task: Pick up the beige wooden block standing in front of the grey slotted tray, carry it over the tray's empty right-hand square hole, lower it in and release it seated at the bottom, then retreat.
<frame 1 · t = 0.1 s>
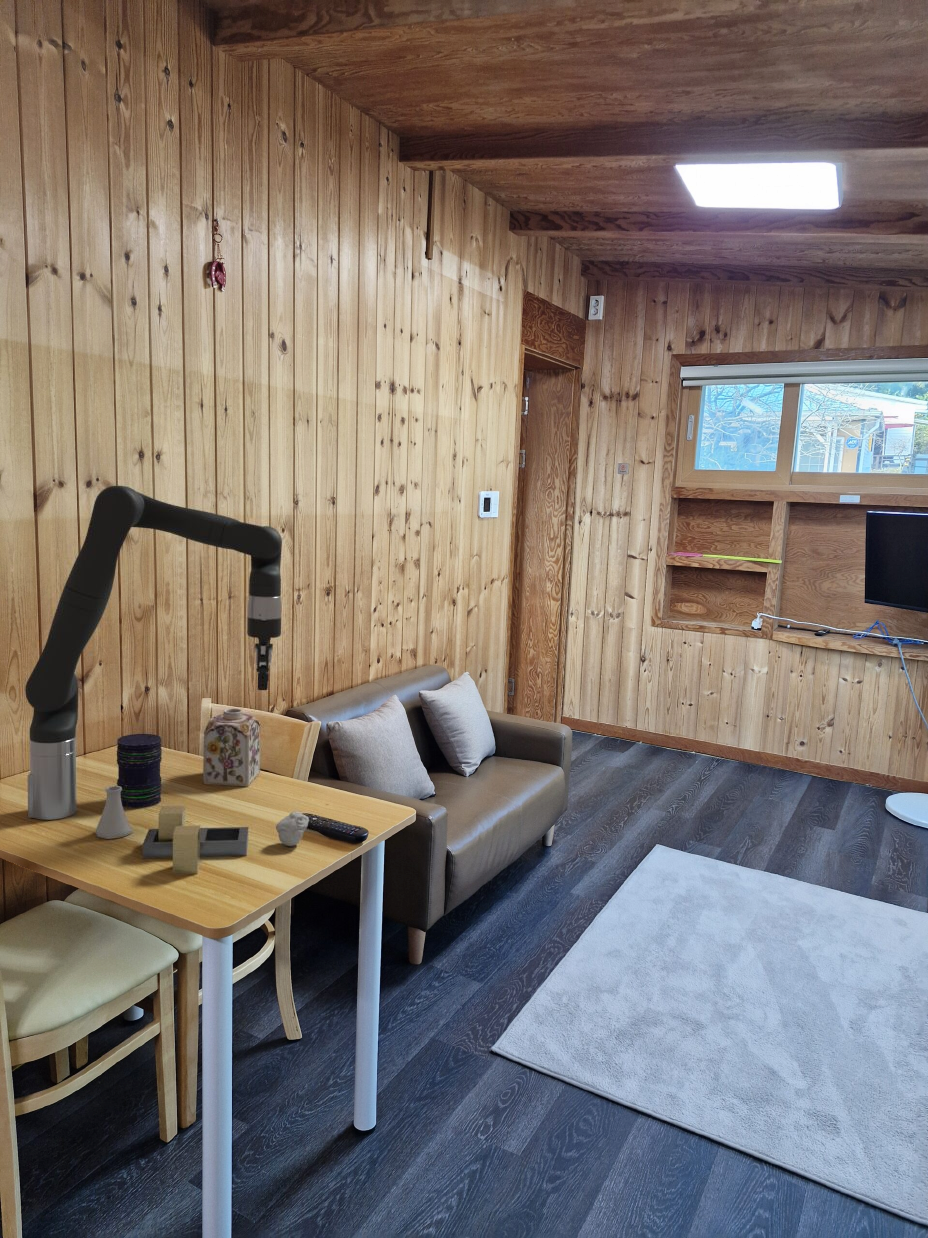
hand: (263, 685, 204), 29 cm above the table, fingers open, 8 cm apart
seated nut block: (171, 847, 182), resting on grey slotted tray
beige wooden block: (186, 869, 174), on the table
flask: (113, 834, 190), on the table
storage jar: (139, 802, 210), on the table
decorative jar: (232, 780, 229), on the table
frog figurine: (291, 846, 188), on the table
grey slotted tray: (197, 849, 184), on the table
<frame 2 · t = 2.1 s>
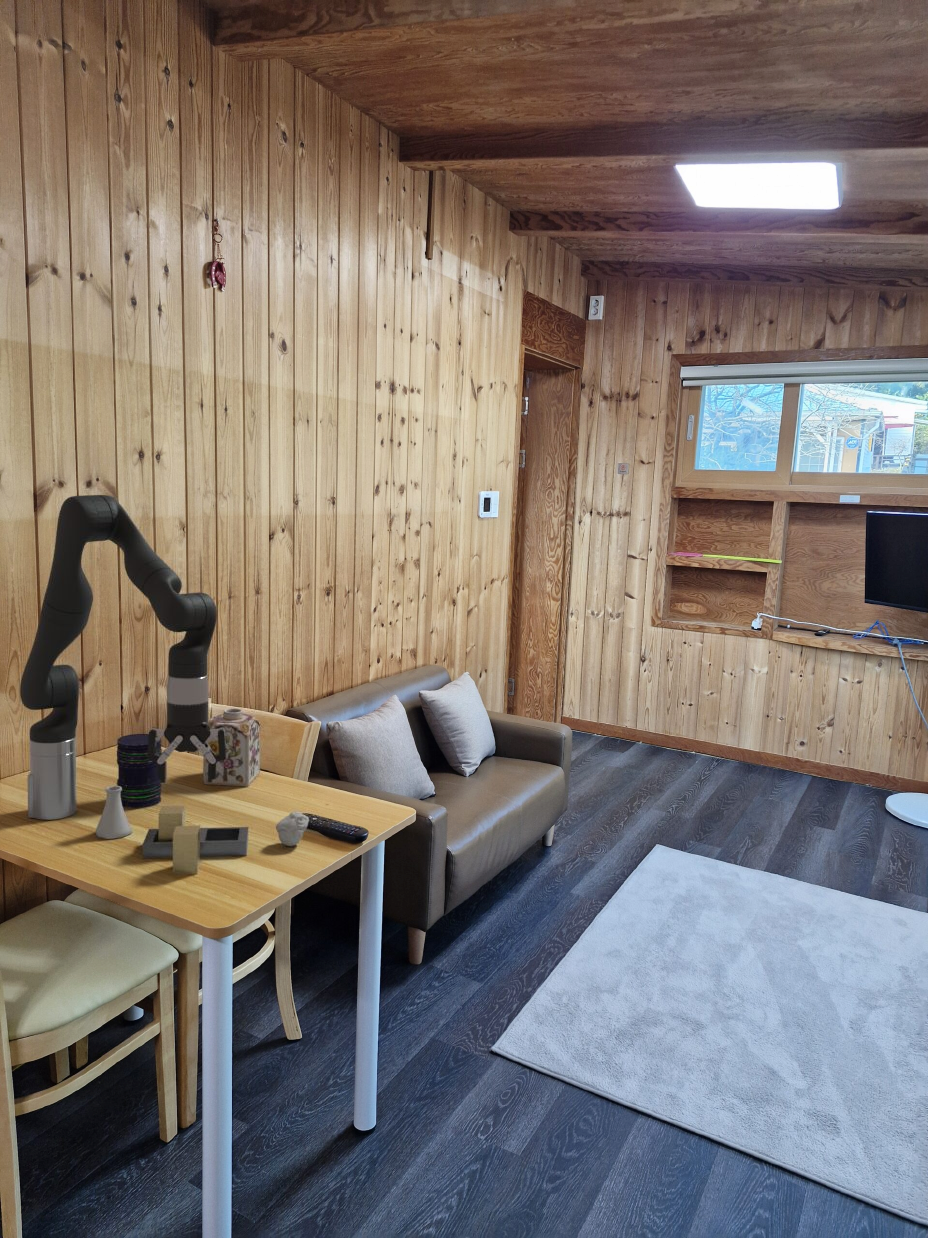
hand: (187, 781, 171), 18 cm above the table, fingers open, 8 cm apart
nothing on the table moved.
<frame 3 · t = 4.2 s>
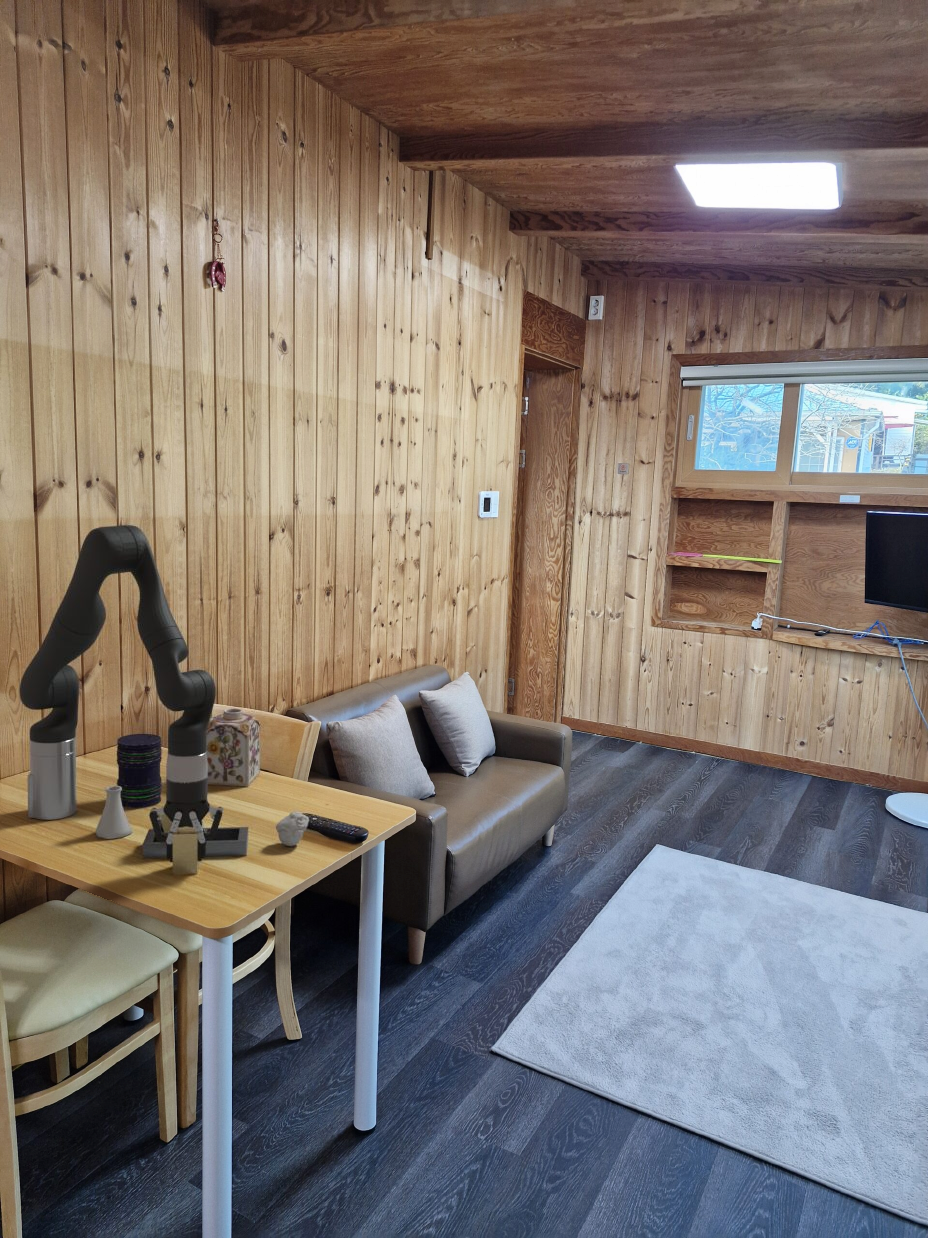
hand: (186, 860, 173), 2 cm above the table, fingers closed on beige wooden block, 4 cm apart
beige wooden block: (186, 869, 174), on the table, touching gripper
everything else where it was.
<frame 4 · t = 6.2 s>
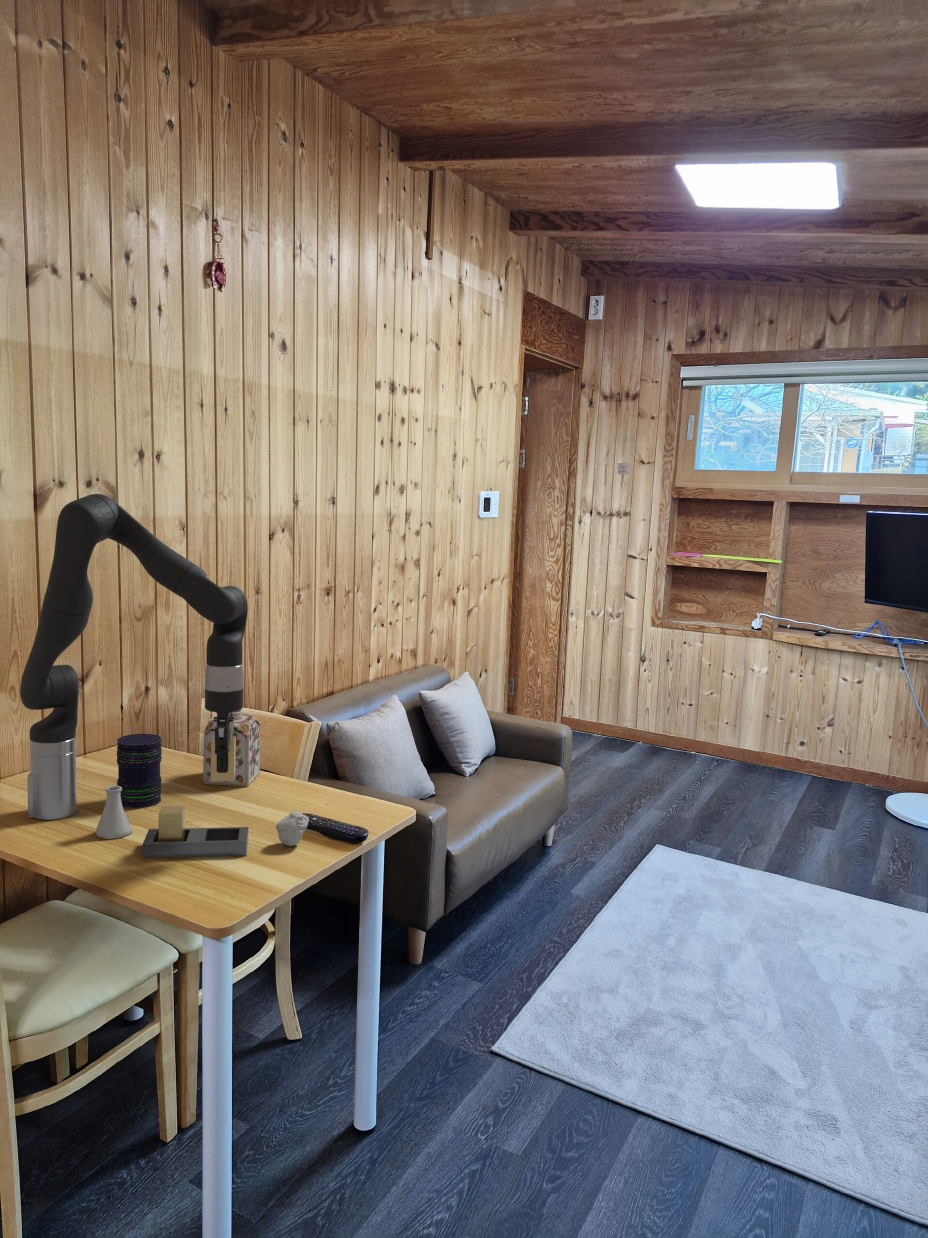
hand: (223, 768, 182), 17 cm above the table, fingers closed on beige wooden block, 4 cm apart
beige wooden block: (223, 777, 182), point 15 cm above the table, touching gripper
everything else where it was.
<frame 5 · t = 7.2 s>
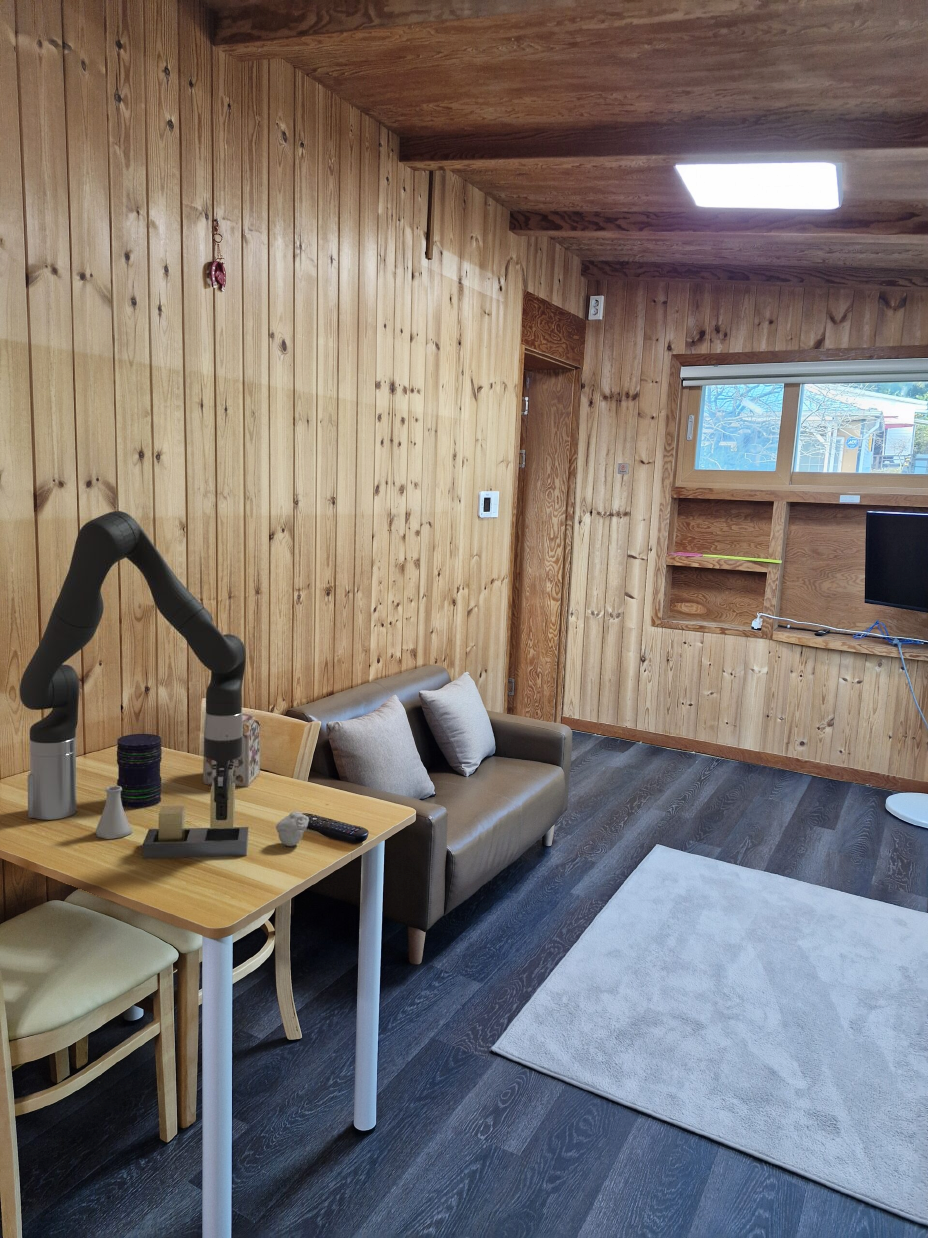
hand: (222, 814, 183), 7 cm above the table, fingers closed on beige wooden block, 4 cm apart
beige wooden block: (222, 824, 184), point 5 cm above the table, touching gripper
everything else where it was.
when the fingers open (4 cm above the table, at t = 8.2 s): beige wooden block drops 2 cm, resting on grey slotted tray.
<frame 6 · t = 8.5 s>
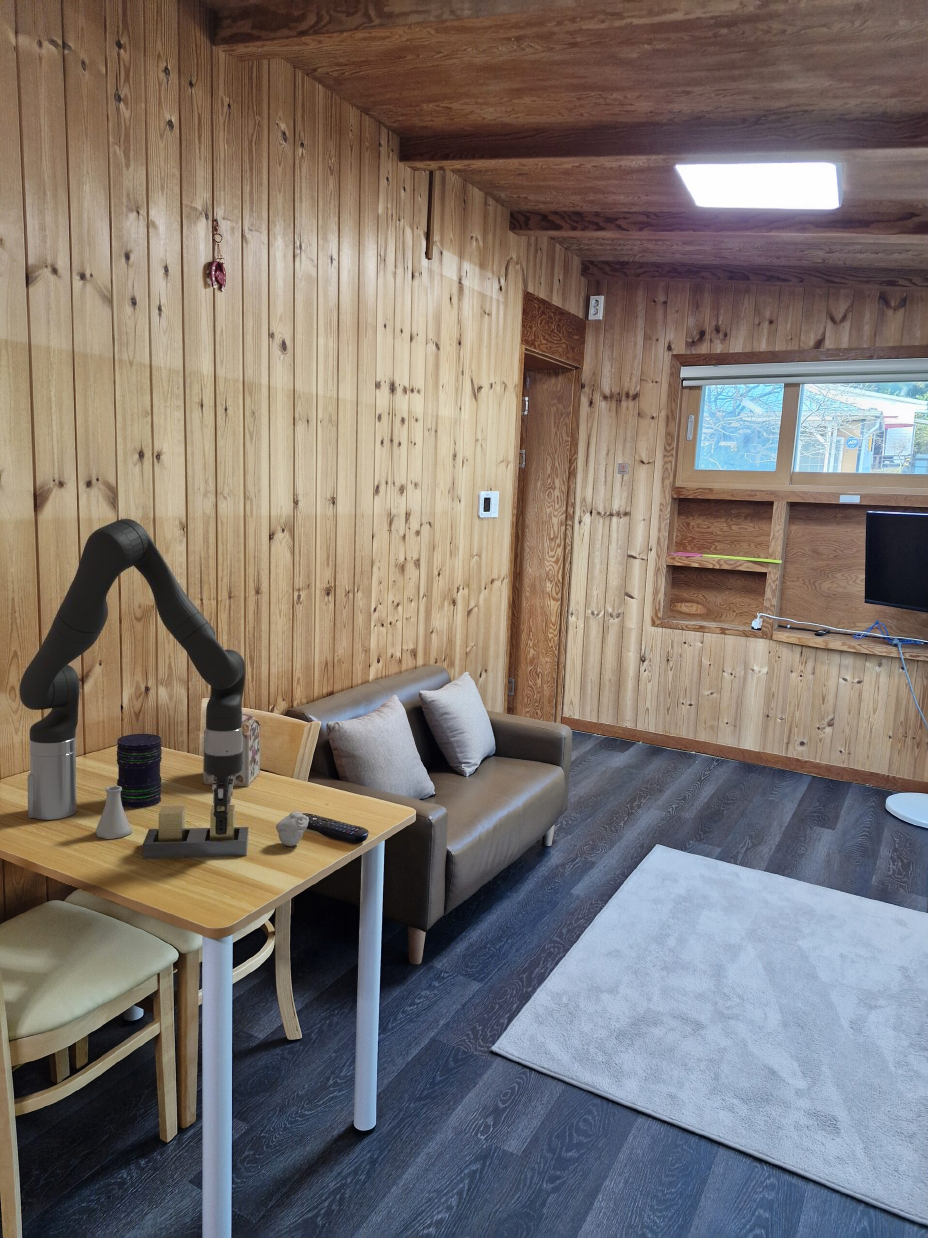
hand: (222, 827, 184), 5 cm above the table, fingers open, 7 cm apart
beige wooden block: (222, 846, 184), resting on grey slotted tray
everything else where it was.
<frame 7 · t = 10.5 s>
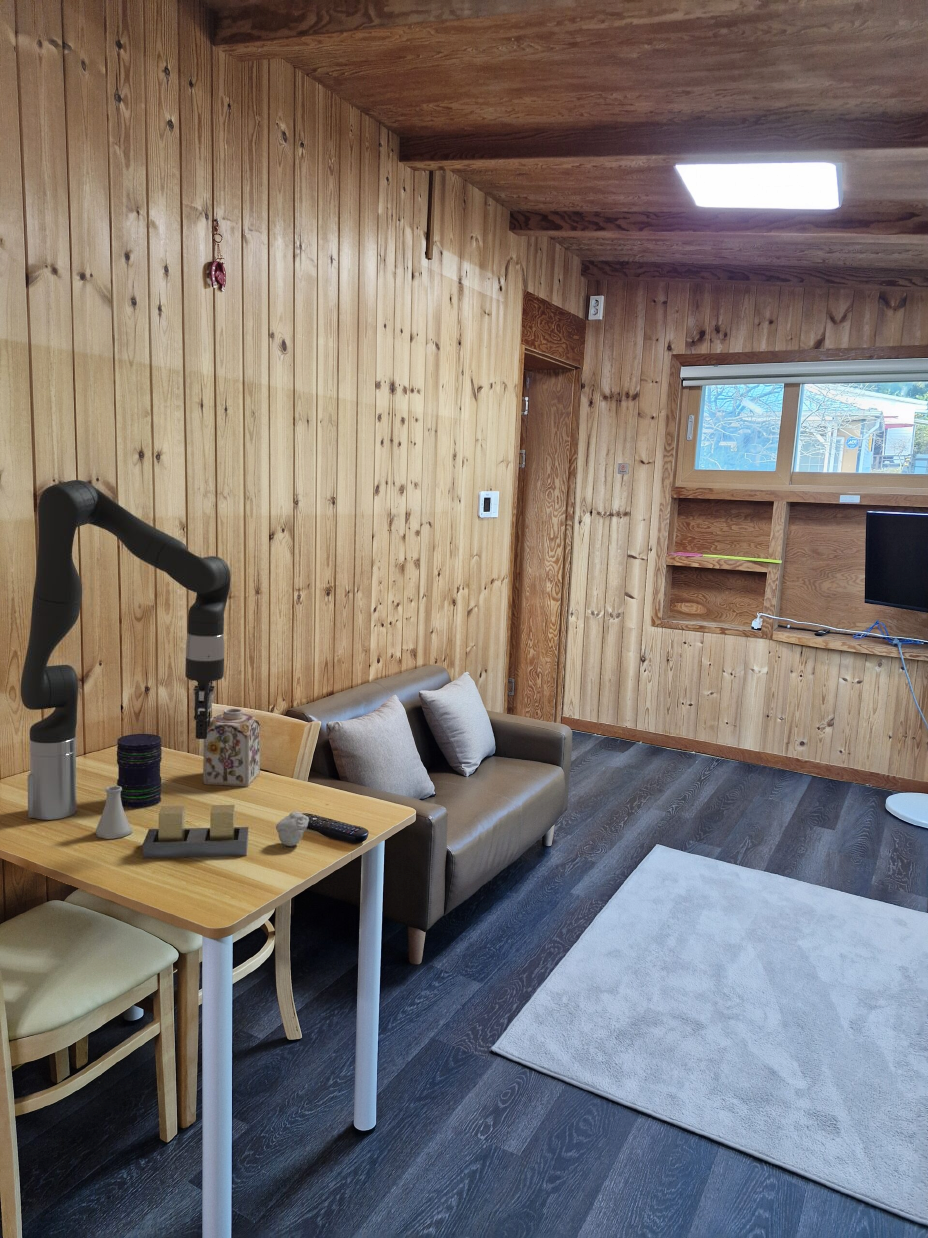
hand: (202, 732, 184), 24 cm above the table, fingers open, 8 cm apart
nothing on the table moved.
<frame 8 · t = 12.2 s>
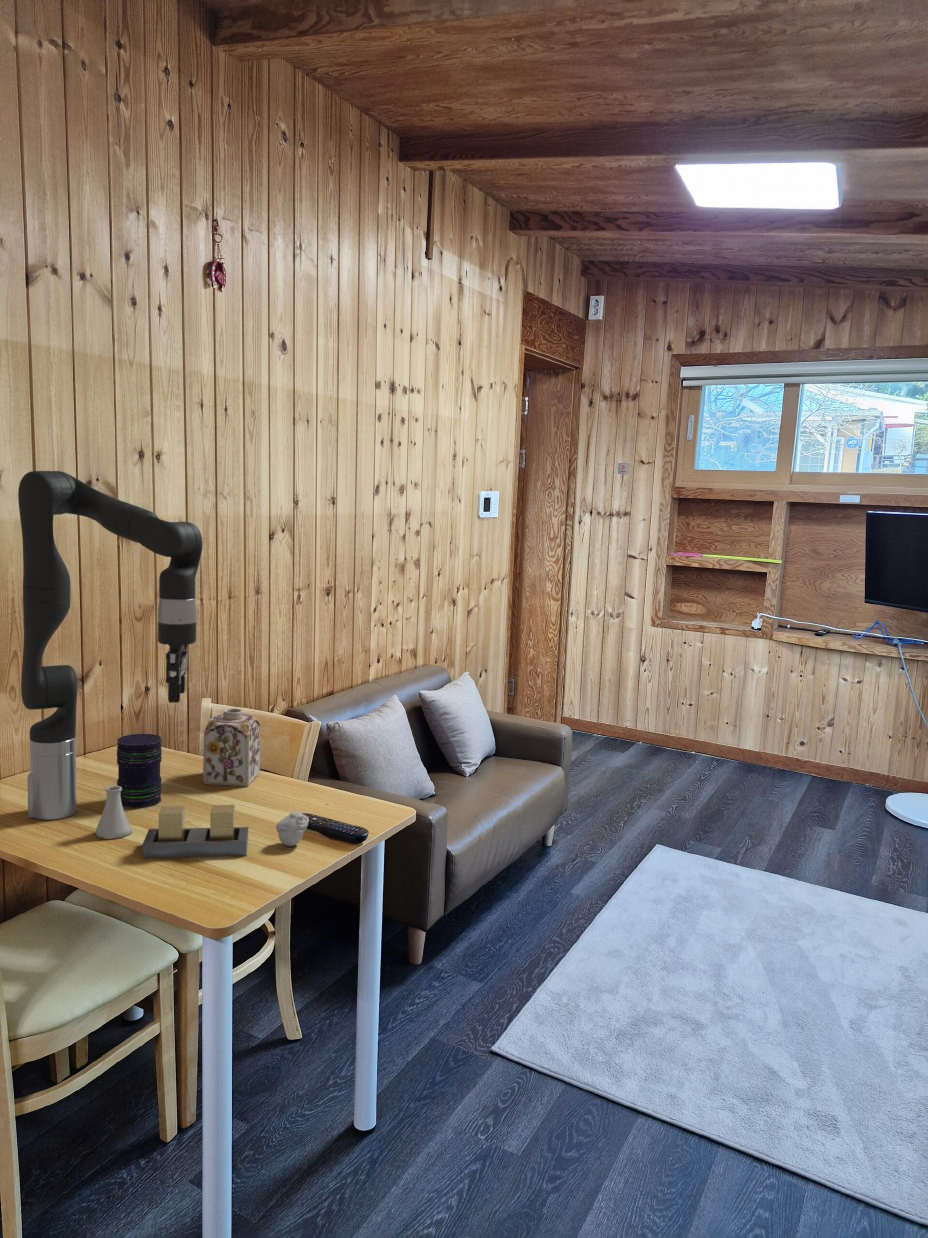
hand: (176, 697, 185), 30 cm above the table, fingers open, 8 cm apart
nothing on the table moved.
at the end: beige wooden block 0.1 cm from the target spot on the grey slotted tray, point 0.5 cm above the grey slotted tray's base; beige wooden block tilted 0°; the gripper is holding nothing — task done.
